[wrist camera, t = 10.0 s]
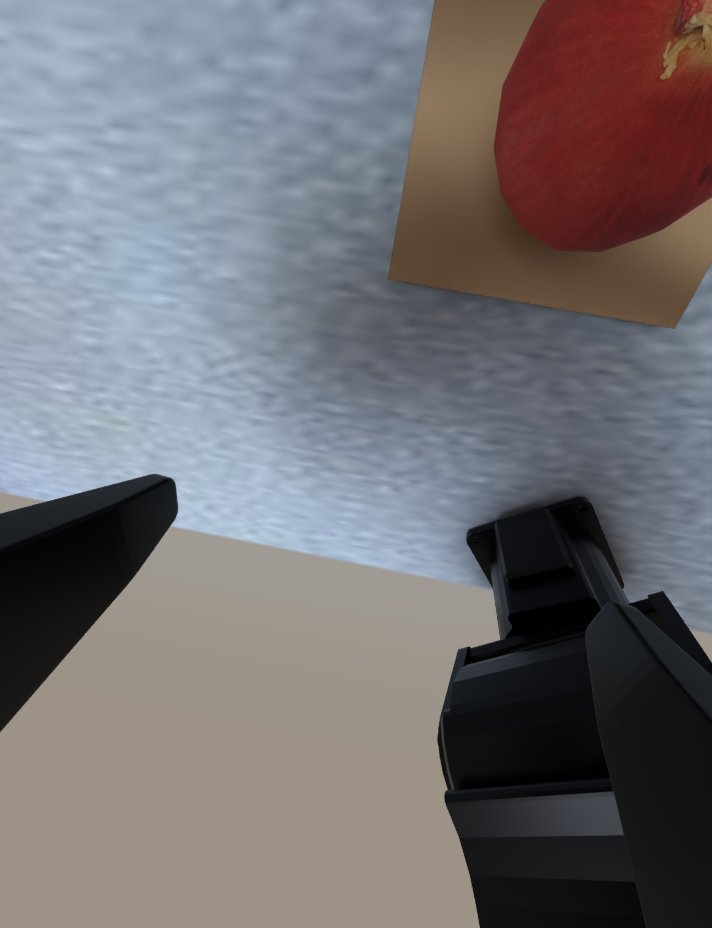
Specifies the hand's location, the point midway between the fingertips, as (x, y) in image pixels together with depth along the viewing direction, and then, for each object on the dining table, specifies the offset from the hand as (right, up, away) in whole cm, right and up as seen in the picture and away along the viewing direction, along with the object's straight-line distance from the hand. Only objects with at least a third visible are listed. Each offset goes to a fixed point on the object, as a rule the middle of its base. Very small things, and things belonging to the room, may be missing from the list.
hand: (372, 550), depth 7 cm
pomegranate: (+7, +12, +5) cm, 15 cm away
